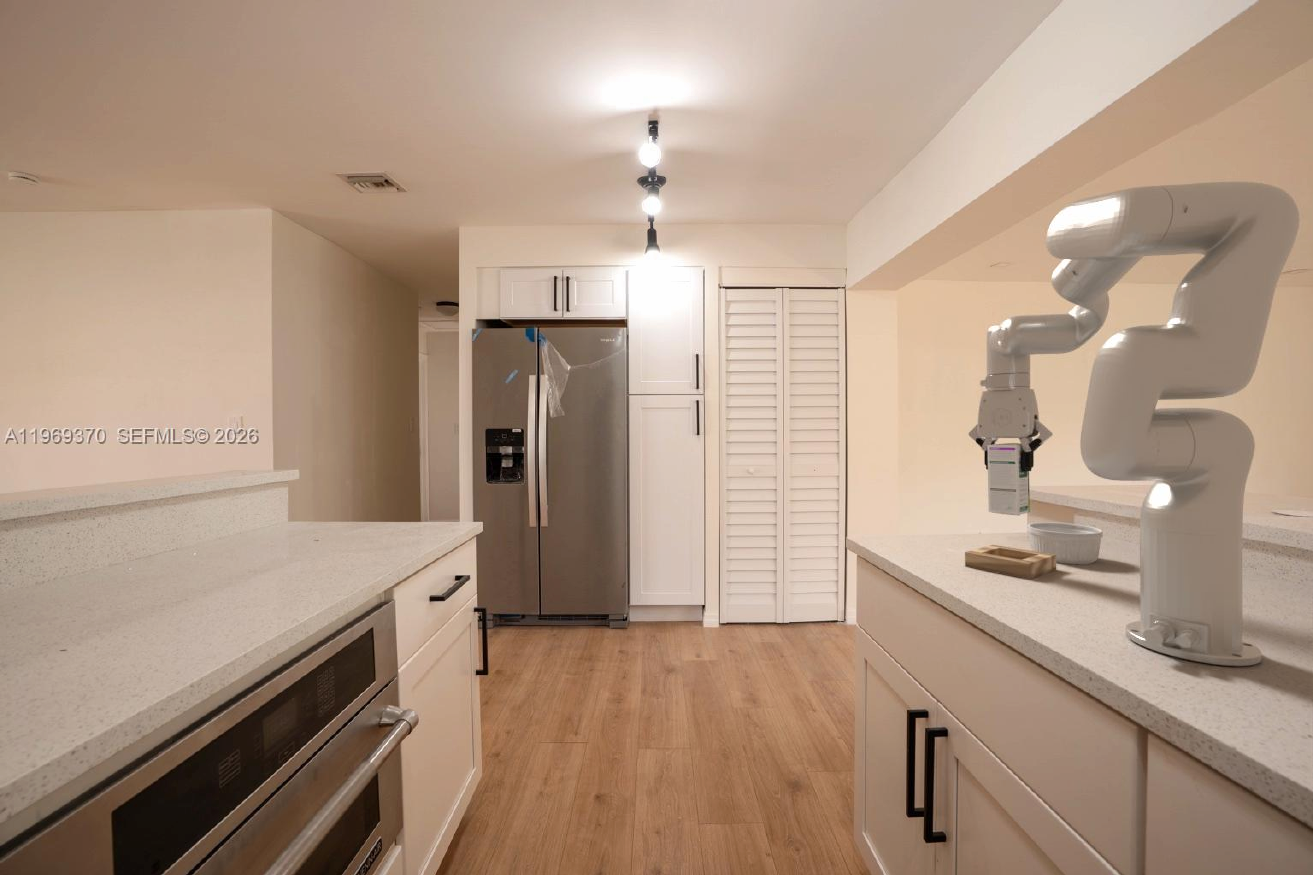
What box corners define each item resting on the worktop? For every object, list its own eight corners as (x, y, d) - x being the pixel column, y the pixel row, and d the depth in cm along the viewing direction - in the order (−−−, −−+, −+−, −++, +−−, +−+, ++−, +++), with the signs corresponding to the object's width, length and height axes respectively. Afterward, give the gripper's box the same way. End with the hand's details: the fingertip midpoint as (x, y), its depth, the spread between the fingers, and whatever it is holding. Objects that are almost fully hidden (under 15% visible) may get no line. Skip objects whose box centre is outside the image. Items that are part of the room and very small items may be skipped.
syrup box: (1019, 516, 106) (1019, 444, 105) (987, 512, 110) (987, 443, 110) (1030, 512, 109) (1030, 443, 109) (998, 509, 114) (998, 442, 113)
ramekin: (1100, 569, 107) (1100, 535, 107) (1022, 559, 116) (1022, 528, 116) (1104, 557, 117) (1104, 526, 117) (1032, 549, 126) (1032, 520, 126)
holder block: (1029, 579, 101) (1029, 563, 101) (965, 566, 111) (965, 552, 111) (1056, 569, 108) (1056, 554, 108) (993, 557, 118) (993, 544, 118)
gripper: (956, 386, 114) (956, 468, 115) (1048, 379, 100) (1048, 474, 100) (974, 387, 118) (974, 466, 119) (1065, 380, 104) (1065, 471, 104)
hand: (1008, 469), depth 110 cm, fingers closed on syrup box, 5 cm apart
